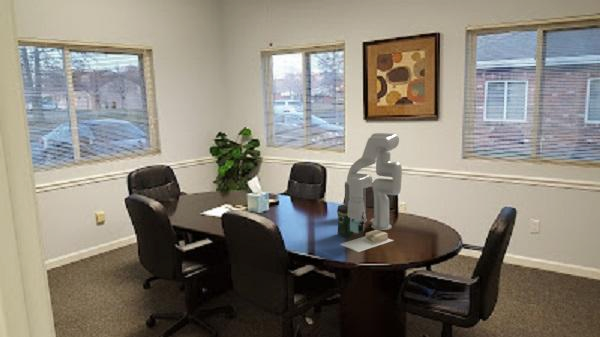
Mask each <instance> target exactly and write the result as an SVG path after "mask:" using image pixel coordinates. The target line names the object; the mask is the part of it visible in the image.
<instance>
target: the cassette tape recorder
mask: <svg viewBox="0 0 600 337" xmlns="http://www.w3.org/2000/svg"><path fill="white" fill-rule="evenodd" d="M349 196H350V193H349V185H348V183H347V181H344V205H346V206H348V202H349V200H350V197H349ZM363 202H364V206H365V207H366V188H363ZM365 217H366V218H367V215H366V212H365Z"/></svg>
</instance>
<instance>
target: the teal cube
mask: <svg viewBox="0 0 600 337" xmlns="http://www.w3.org/2000/svg"><path fill="white" fill-rule="evenodd" d="M361 222H362V221H361ZM358 225H359V222H358V221H357V220H353V221H350V231H352V232H354V233H355V234H359V233H362V232H364V231H365V223H364V224H363V231H361V232H359V226H358Z"/></svg>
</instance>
